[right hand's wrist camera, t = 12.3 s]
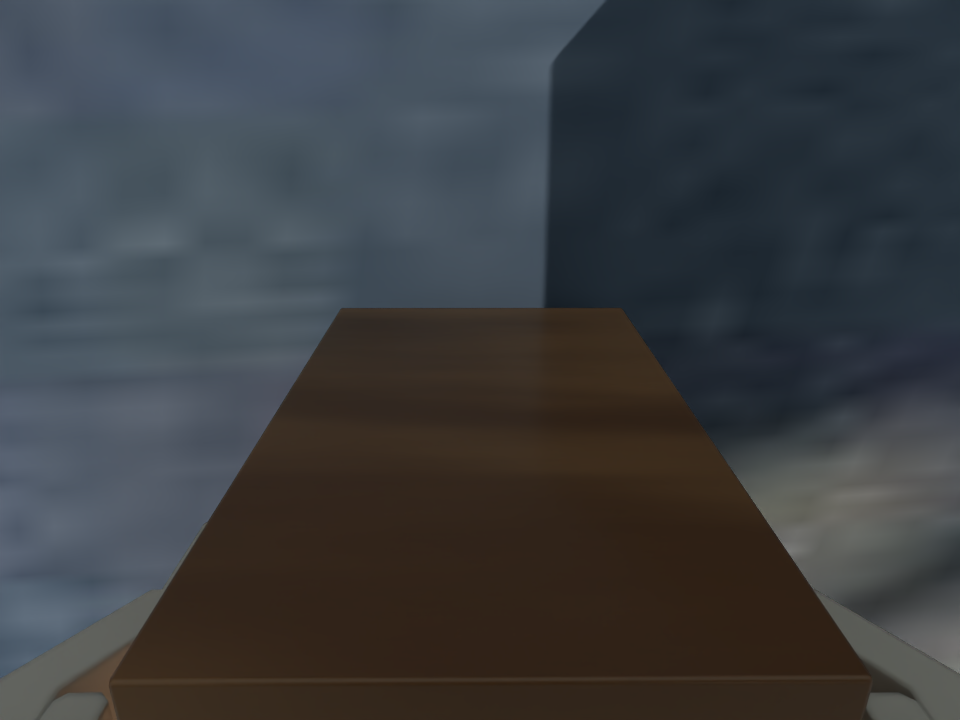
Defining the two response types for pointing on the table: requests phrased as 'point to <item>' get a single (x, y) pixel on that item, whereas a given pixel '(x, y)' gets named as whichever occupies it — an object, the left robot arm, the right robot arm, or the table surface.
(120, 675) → the bar
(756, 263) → the table surface
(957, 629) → the table surface
